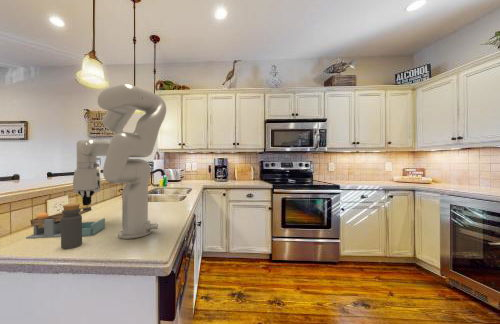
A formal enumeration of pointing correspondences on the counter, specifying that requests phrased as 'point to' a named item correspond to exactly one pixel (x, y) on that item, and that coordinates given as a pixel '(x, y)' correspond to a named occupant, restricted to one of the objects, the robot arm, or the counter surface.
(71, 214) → the bottle
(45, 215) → the ball
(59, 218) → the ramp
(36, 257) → the counter surface
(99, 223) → the tray
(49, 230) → the stand
